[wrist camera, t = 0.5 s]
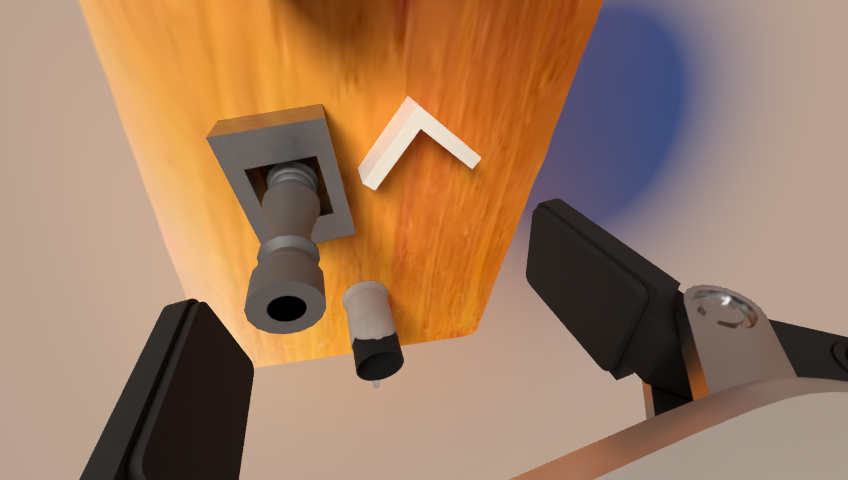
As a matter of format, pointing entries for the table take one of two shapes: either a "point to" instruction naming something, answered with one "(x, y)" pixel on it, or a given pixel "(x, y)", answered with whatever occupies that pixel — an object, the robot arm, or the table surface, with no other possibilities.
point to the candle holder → (288, 253)
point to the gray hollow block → (274, 143)
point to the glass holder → (372, 331)
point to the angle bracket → (408, 142)
